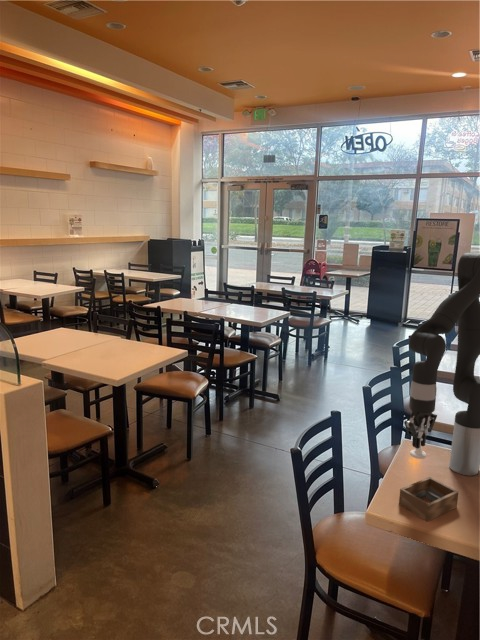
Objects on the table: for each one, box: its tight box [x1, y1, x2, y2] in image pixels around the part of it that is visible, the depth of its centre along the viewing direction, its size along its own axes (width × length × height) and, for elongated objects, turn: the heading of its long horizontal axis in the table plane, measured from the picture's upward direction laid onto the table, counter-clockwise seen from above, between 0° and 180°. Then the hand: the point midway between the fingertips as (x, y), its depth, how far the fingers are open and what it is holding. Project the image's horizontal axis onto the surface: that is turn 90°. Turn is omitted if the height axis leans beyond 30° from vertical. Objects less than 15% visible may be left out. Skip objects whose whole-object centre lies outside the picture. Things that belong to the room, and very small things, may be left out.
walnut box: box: [398, 476, 459, 522], centre depth 139 cm, size 14×10×5 cm
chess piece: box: [409, 430, 427, 460], centre depth 147 cm, size 5×5×10 cm
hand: (418, 446), depth 147 cm, fingers closed on chess piece
